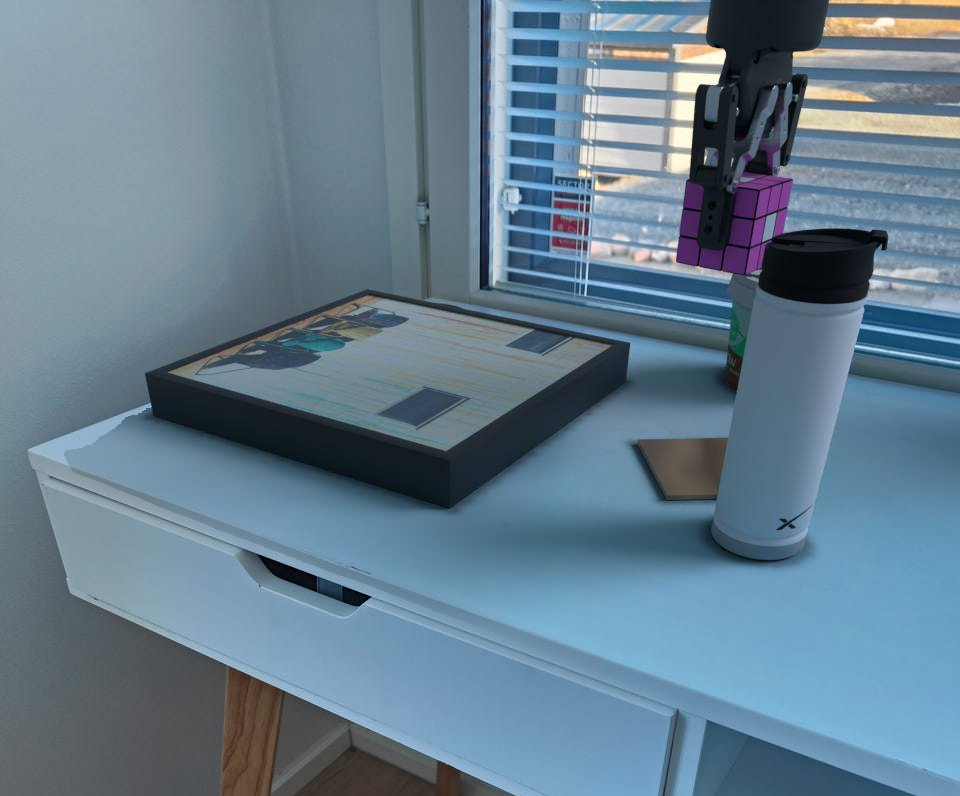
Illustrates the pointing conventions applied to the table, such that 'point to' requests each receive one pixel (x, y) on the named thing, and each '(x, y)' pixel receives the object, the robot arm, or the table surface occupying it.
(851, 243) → the travel mug
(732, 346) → the food container
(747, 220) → the puzzle toy
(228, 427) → the framed picture
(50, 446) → the table surface
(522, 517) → the table surface
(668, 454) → the cork coaster
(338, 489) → the table surface
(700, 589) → the table surface
